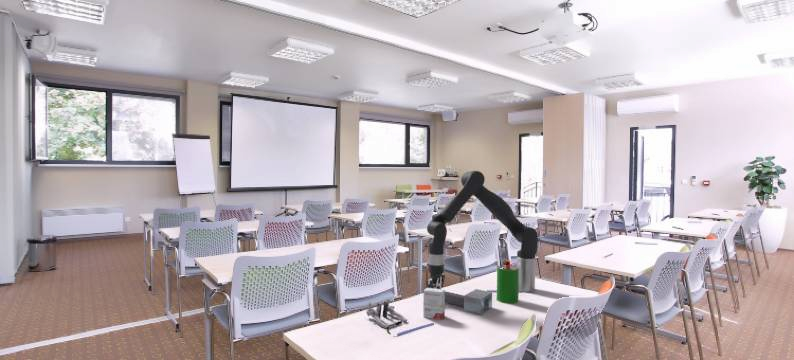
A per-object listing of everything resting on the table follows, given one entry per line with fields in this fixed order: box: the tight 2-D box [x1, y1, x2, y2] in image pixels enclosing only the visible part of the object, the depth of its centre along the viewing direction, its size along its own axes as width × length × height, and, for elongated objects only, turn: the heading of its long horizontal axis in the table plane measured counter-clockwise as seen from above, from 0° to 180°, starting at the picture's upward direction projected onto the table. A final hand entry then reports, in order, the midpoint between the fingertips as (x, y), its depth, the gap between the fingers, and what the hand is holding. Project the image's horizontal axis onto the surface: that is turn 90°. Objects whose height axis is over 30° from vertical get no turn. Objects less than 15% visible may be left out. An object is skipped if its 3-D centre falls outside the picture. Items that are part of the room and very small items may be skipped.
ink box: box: [422, 287, 446, 321], centre depth 175 cm, size 9×5×12 cm, turn 71°
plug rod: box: [445, 290, 465, 308], centre depth 194 cm, size 4×20×4 cm, turn 54°
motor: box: [496, 259, 520, 304], centre depth 197 cm, size 10×9×20 cm
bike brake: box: [365, 298, 408, 335], centre depth 169 cm, size 14×7×20 cm
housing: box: [463, 288, 493, 316], centre depth 185 cm, size 12×8×7 cm, turn 143°
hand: (435, 297), depth 198 cm, fingers closed on plug rod, 3 cm apart
